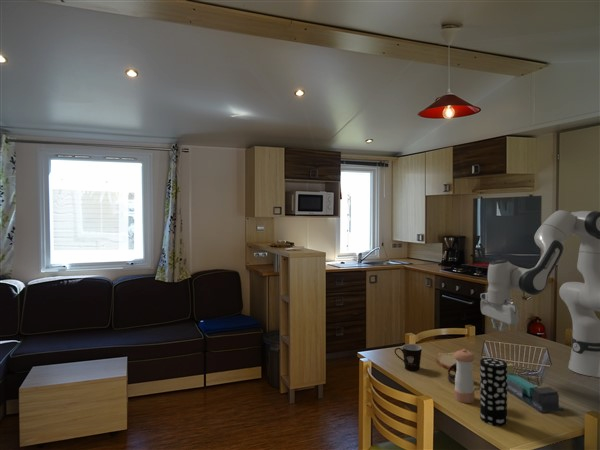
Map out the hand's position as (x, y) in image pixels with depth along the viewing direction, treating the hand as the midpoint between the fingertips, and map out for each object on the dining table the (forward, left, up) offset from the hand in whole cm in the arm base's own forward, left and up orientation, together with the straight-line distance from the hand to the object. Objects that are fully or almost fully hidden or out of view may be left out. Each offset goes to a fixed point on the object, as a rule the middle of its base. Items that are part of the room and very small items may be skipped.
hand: (498, 330), depth 170 cm
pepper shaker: (+25, +14, -21) cm, 36 cm away
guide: (0, +17, -21) cm, 27 cm away
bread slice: (+10, -21, -22) cm, 32 cm away
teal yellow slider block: (0, +12, -20) cm, 23 cm away
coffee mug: (+32, -19, -21) cm, 43 cm away
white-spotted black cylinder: (+24, +30, -21) cm, 44 cm away
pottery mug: (+17, -2, -21) cm, 28 cm away
